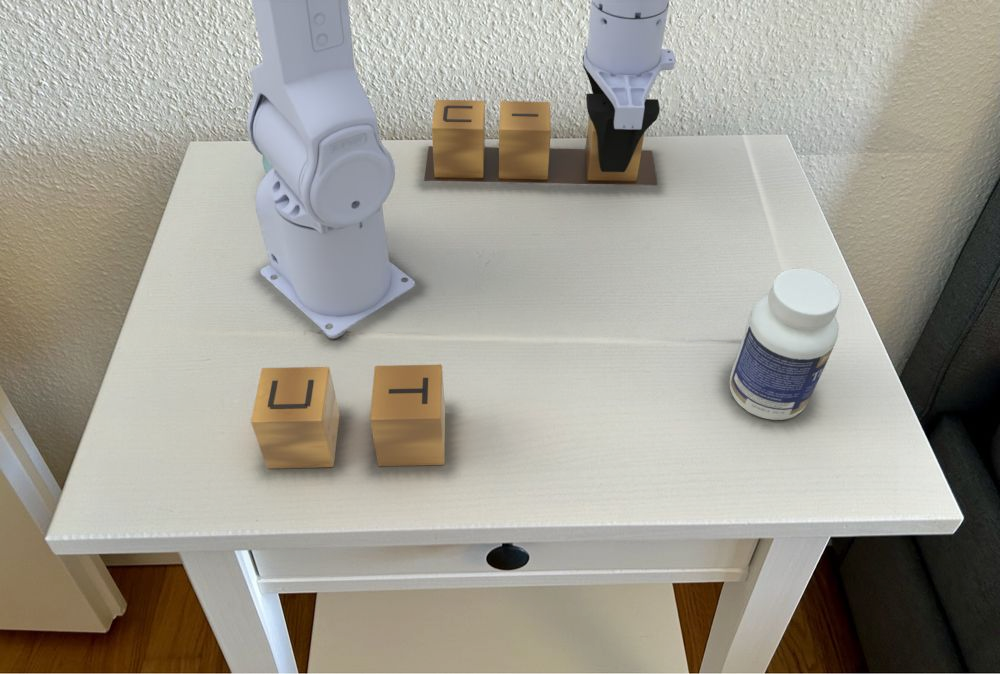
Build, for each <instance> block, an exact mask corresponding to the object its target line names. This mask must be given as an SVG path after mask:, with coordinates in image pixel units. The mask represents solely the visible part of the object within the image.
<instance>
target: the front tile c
mask: <svg viewBox="0 0 1000 674" xmlns="http://www.w3.org/2000/svg"><path fill="white" fill-rule="evenodd" d="M340 413H341V412H340V409H339V405H338V400H337V396H336V392H335V387H334V382H333V378H332V374H331V369H330V366H299V367H295V366H294V367H262V368H261V371H260V376H259V380H258V386H257V390H256V395H255V400H254V405H253V410H252V415H251V418H250V419H251V420H250V423H251V426H252V429H253V432H254V434H255V438H256V440H257V443H258V446H259V449H260V452H261V454H262V457H263V461H264V463H265V467H266V468H267V469H269V470H270V469H309V468H310V469H311V468H315V469H317V468H318V469H319V468H334V466H335V458H336V450H337V442H338V435H339V434H338V432H339V425H340V417H341V414H340Z"/></svg>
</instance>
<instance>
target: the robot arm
mask: <svg viewBox="0 0 1000 674" xmlns="http://www.w3.org/2000/svg"><path fill="white" fill-rule="evenodd" d="M251 3H252V9H253V14H254V20H255V25H256V30H257V36H258V40H259V41H258V42H259V48H260V52H261V57H262V61H261V62H260V63H258V64H257V65H256V66H254V67H253V68H252V69H251V70H250V79H251V84H252V100H251V105H250V107H249V110H248V114H247V119H246V130H247V135H248V138H249V140H250V143H251V144H252V146H253V148H254V149H255V150H256V151H257V153H259V154H260V155H261V156H262V157H263V156H264V157H265V158H266V159H267V160H268V161H269V163H270V164H271V165H272V166H273V168H272V169H271V170H270V171H269V172H268V173H266V174H265V175H264V176H263V178H262V179H261V181H260V183H259V185H258V187H257V190H256V194H255V201H254V208H255V213H256V216H257V220H258V224H259V228H260V231H261V235H262V240H263V243H264V247H265V251H266V254H267V258H268V262H269V264H268V265H266V266H264V267H262V268H261V269H260V275H262V276H263V277H264V278H265V279H266V280H267V281H268V282H270V283H271V284H272V285H273V287H275V288H276V289H277V290H278V291H279V292H280V293H281V294H282V295H284V296H285V297H286V298H287V299H288V300H289V301H290V302H292V304H294V305H295V306H296V308H298V309H299V310H300V311H301V312H302V313H304V314H305V315H306V317H308V318H309V319H310V320H311V321H312V322H314V324H316V325H317V326H318V327H319V328H320V329H321V330H320V331H321V332H322V333H323V334H324V335H325V336H326V337H327V338H329V339H337V338H340V337H341V336H342V335H344V334H346V333H347V332H348V330H347V329H349V328H350V327H352V326H353V325H355V324H357V323H358V322H360V321H361V320H363V319H365V318H366V317H368V316H370V315H371V314H372V313H373V314H374V312H376V311H378V310H379V309H381V308H382V307H384V306H385V305H387V304H388V303H390V302H392V301H394V300H395V299H397V298H398V297H400V296H401V295H403V294H405V293H406V292H408V291H410V290H411V289H413V288H414V287H415V286H416V281H415V280H414V279H412V278H411V277H410V276H409V275H407V274H406V273H405V272H404V271H403V270H401V269H400V268H399V267H398V266H396V265H395V264H394V263H392V262H391V261H390V258H389V247H388V241H387V240H388V239H387V232H386V223H385V217H384V207H383V205H384V203H385V202H386V201H387V199H388V197H389V195H390V194H391V192H392V189H393V187H394V183H395V178H396V167H395V161H394V159H393V157H392V154H391V153H390V152H389V150H388V149H387V148H386V147H385V146H384V144H383V142H382V141H381V138H380V134H379V130H378V129H379V127H378V117H377V115H376V113H375V111H374V108H373V106H372V103H371V102H370V99H369V98H368V94H367V93H366V90H365V89H364V86H363V85H362V82H361V80H360V77H359V76H358V73H357V71H356V67H355V59H354V47H353V37H352V30H351V29H352V27H351V17H350V9H349V0H251ZM590 3H591V4H590V11H589V12H590V13H589V23H588V33H587V34H588V35H587V46H586V47H585V49H584V52H583V55H582V64H583V70H584V71H585V74H586V76H587V78H588V82H589V84H590V87H591V92H592V93H586V96H585V100H586V101H585V102H586V110H587V113H588V118H589V117H590V119H591V121H592V123H593V125H594V127H595V130H596V134H597V140H598V155H599V164H600V168H601V171H602V172H625V171H626V169H627V167H628V165H629V163H630V161H631V158H632V156H633V154H634V151H635V149H636V147H637V144H638V142H639V140H640V139H641V137H642V135H643V134H644V135H645V133H646V132H647V130H648V129H649V128H650V127H651V126H652V125H653V124H654V123H655V122H656V121H657V120H658V117H659V116H660V110H661V107H660V102H659V99H658V98H657V99H656V98H648V97H649V94H650V92H651V91H652V88H653V87H654V84H655V83H656V80H657V78H658V76H659V74H660V72H663V71H672V70H673V69H675V66H676V65H675V64H676V56H675V53H674V50H671V49H668V48H663V43H664V37H665V30H666V25H667V19H668V12H669V6H670V0H591V2H590ZM273 276H276V277H277V278H275V279H273V278H272V277H273ZM403 279H407V281H405V282H404V281H402V280H403ZM328 325H331V326H332V327H331V328H327V326H328Z"/></svg>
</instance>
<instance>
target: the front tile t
mask: <svg viewBox="0 0 1000 674" xmlns="http://www.w3.org/2000/svg"><path fill="white" fill-rule="evenodd" d="M373 371H374V372H373V381H372V393H371V404H370V415H369V423H370V427H371V433H372V439H373V444H374V449H375V454H376V461H377V466H378V467H407V466H410V467H411V466H444V465H445V456H446V455H445V452H446V451H445V450H446V449H445V447H446V446H445V445H446V406H445V402H446V401H445V389H444V375H443V373H444V371H443V365H442V364H406V365H405V364H403V365H402V364H400V365H398V364H397V365H375V366H374V370H373Z"/></svg>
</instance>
